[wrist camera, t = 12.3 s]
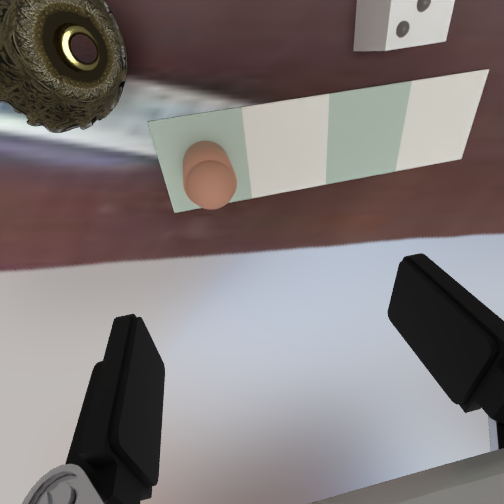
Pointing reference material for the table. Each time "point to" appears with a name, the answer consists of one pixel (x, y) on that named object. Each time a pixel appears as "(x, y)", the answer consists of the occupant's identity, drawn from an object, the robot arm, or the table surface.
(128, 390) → the robot arm
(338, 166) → the board
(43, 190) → the table surface
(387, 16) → the die
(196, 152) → the pawn
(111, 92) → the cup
